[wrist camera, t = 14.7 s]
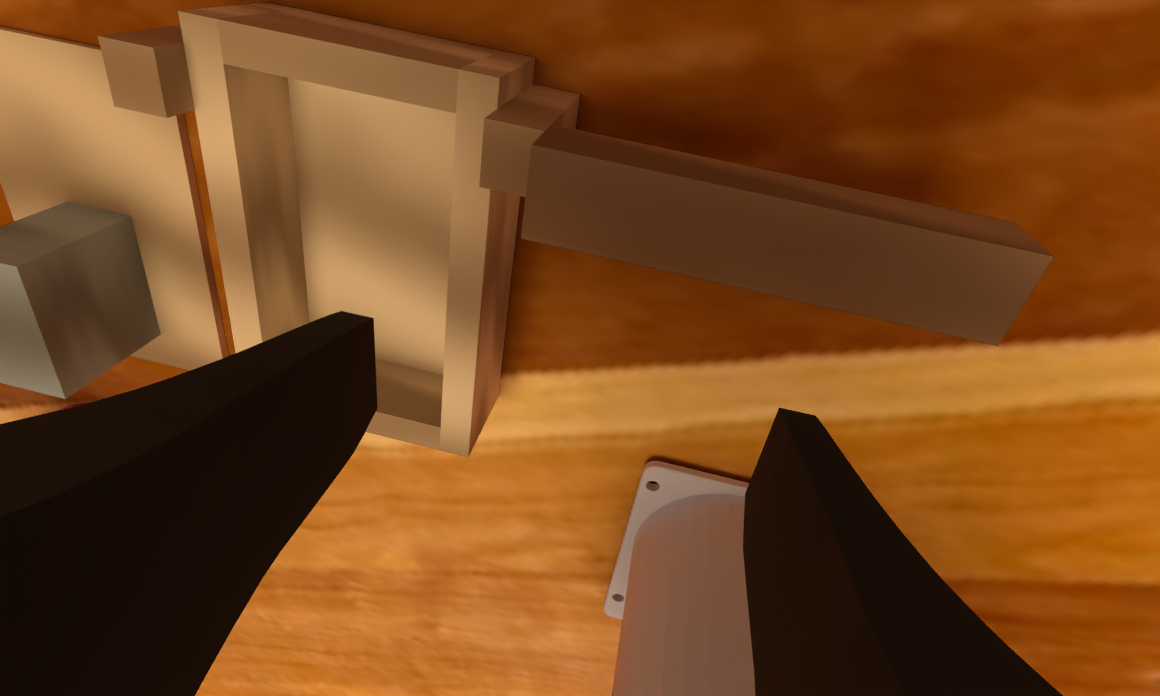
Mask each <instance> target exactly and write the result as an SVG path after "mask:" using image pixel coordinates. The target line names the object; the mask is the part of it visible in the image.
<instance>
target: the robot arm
mask: <svg viewBox="0 0 1160 696" xmlns="http://www.w3.org/2000/svg"><path fill="white" fill-rule="evenodd" d="M377 409H378V406H377V383H376V360H375V337H374V318H371V317H367V316H362V315H358V314H353V313H349V312H344V311H339V312H336V313H333V314H330V315H328V316H325V317H322V318H320V319H317V320H315V321H312V322H310V323H307V324H305V325H302V326H300V327H298V328H295V329H293V330H291V331H288V332H286V333H283V334H281V335H279V336H276V337H274V338H272V339H269V340H267V341H264V342H262V343H260V344H257V345H255V346H252V347H250V348H248V349H245V350H243V351H240V352H238V353H235V354H233V355H231V356H228V357H225V358H223V359H220V360H217V361H215V362H212V363H209V364H207V365H204V366H201V367H199V368H196V369H193V370H190V371H188V372H185V373H182V374H180V375H177V376H174V377H172V378H169V379H166V380H163V381H160V382H157V383H154V384H151V385H148V386H145V387H142V388H139V389H136V390H133V391H129V392H126V393H122V394H119V395H115V396H112V397H109V398H105V399H102V400H98V401H95V402H91V403H88V404H84V405H80V406H76V407H72V408H68V409H64V410H59V411H55V412H51V413H47V414H42V415H38V416H34V417H29V418H25V419H21V420H17V421H12V422H8V423H4V424H0V696H195V694H196V693H197V691H198V689H199V687H200V685H201V683H202V681H203V680H204V678H205V676H206V674H207V673H208V671H209V669H210V667H211V665H212V664H213V662H214V660H215V658H216V657H217V655H218V653H219V651H220V649H221V648H222V646H223V644H224V642H225V641H226V639H227V637H228V635H229V634H230V632H231V630H232V628H233V626H234V625H235V623H236V621H237V620H238V618H239V616H240V615H241V613H242V611H243V610H244V608H245V606H246V605H247V603H248V601H249V600H250V598H251V596H252V595H253V593H254V591H255V590H256V588H257V586H258V585H259V583H260V581H261V580H262V578H263V576H264V575H265V573H266V572H267V570H268V569H269V567H270V566H271V565H272V563H273V562H274V560H275V559H276V557H277V556H278V554H279V553H280V551H281V550H282V549H283V547H284V546H285V545H286V543H287V542H288V541H289V539H290V538H291V537H292V535H293V534H294V533H295V531H296V530H297V529H298V527H299V526H300V525H301V523H302V522H303V521H304V519H305V518H306V517H307V515H308V514H309V513H310V511H311V510H312V509H313V507H314V506H315V505H316V503H317V502H318V501H319V499H320V498H321V497H322V495H323V494H324V493H325V491H326V490H327V489H328V487H329V486H330V485H331V483H332V482H333V481H334V479H335V478H336V476H337V475H338V474H339V472H340V471H341V470H342V468H343V467H344V466H345V464H346V463H347V461H348V460H349V459H350V457H351V456H352V454H353V453H354V451H355V449H356V447H357V446H358V444H359V442H360V440H361V439H362V437H363V435H364V433H365V431H366V430H367V428H368V426H369V424H370V422H371V420H372V418H373V416H374V414H375V412H376V410H377ZM649 481H655V482H657V484H651V483H649ZM603 611H604V612H605V614H607V615H608V616H610V617H613V618H616V619H620V620H622V626H621V633H620V640H619V647H618V654H617V662H616V669H615V676H614V683H613V690H612V696H1063V695H1062V694H1060V693H1059V692H1058V691H1057V690H1056V689H1055V688H1054V687H1052V686H1051V685H1050V684H1049V683H1048V682H1047V681H1046V680H1045V679H1044V678H1043V677H1041V676H1040V675H1039V674H1038V673H1037V672H1036V671H1035V670H1034V669H1033V668H1032V667H1030V666H1029V665H1028V664H1027V663H1026V662H1025V661H1024V660H1023V659H1022V658H1021V657H1019V656H1018V655H1017V654H1016V653H1015V652H1014V651H1013V650H1012V649H1011V648H1010V647H1008V646H1007V645H1006V644H1005V643H1004V642H1003V641H1002V640H1001V639H1000V638H999V637H998V636H997V635H996V634H995V633H994V632H993V631H992V630H991V629H990V628H989V627H988V626H987V625H986V624H985V623H984V622H983V621H982V620H981V619H980V618H979V617H978V616H977V615H976V614H975V613H974V612H973V611H972V610H971V609H970V608H969V607H968V606H967V605H966V604H965V603H964V602H963V601H962V600H961V599H960V597H959V596H958V595H957V594H956V593H955V592H954V591H953V590H952V589H951V588H950V587H949V586H948V585H947V584H946V583H945V582H944V581H943V580H942V579H941V577H940V576H939V575H938V574H937V573H936V572H935V571H934V570H933V569H932V567H931V566H930V565H929V564H928V563H927V562H926V561H925V559H924V558H923V557H922V556H921V555H920V553H919V552H918V551H917V550H916V549H915V547H914V546H913V545H912V544H911V543H910V541H909V540H908V539H907V538H906V537H905V536H904V534H903V533H902V532H901V531H900V530H899V528H898V527H897V526H896V524H895V523H894V522H893V521H892V519H891V518H890V517H889V516H888V514H887V513H886V512H885V511H884V509H883V508H882V507H881V505H880V504H879V503H878V501H877V500H876V499H875V497H874V496H873V495H872V493H871V492H870V491H869V489H868V488H867V487H866V485H865V484H864V483H863V481H862V480H861V478H860V477H859V476H858V474H857V473H856V472H855V470H854V469H853V467H852V466H851V464H850V463H849V462H848V460H847V459H846V457H845V456H844V455H843V453H842V452H841V450H840V449H839V448H838V446H837V445H836V443H835V442H834V440H833V439H832V438H831V436H830V435H829V433H828V432H827V430H826V429H825V428H824V426H823V425H822V423H821V422H820V421H819V419H818V418H817V417H816V416H814V415H810V414H805V413H801V412H796V411H792V410H787V409H783V408H779V410H778V412H777V415H776V417H775V420H774V422H773V425H772V427H771V430H770V432H769V435H768V437H767V440H766V442H765V445H764V448H763V450H762V453H761V455H760V458H759V460H758V463H757V465H756V468H755V470H754V473H753V475H752V478H751V480H750V483H747V482H743V481H739V480H735V479H730V478H726V477H722V476H718V475H714V474H710V473H706V472H702V471H698V470H694V469H690V468H686V467H682V466H677V465H673V464H669V463H665V462H661V461H650V462H648V463H647V464H645V466H644V468H643V471H642V475H641V478H640V482H639V485H638V489H637V492H636V495H635V499H634V502H633V506H632V509H631V512H630V516H629V519H628V523H627V526H626V530H625V533H624V536H623V540H622V543H621V547H620V550H619V553H618V557H617V560H616V564H615V567H614V571H613V574H612V577H611V581H610V584H609V588H608V591H607V594H606V598H605V601H604V607H603Z"/></svg>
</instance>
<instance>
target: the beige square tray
mask: <svg viewBox="0 0 1160 696" xmlns="http://www.w3.org/2000/svg"><path fill="white" fill-rule="evenodd" d="M178 13H179V19H180V25H178V26H170V27H162V28H155V29H147V30H139V31H132V32H124V33H116V34H109V35H101V36H98V39H99V43H100V47H101V52H102V56H103V60H104V65H105V69H106V73H107V77H108V82H109V86H110V90H111V94H112V99H113V103H114V107H119V108H123V109H128V110H132V111H137V112H142V113H146V114H151V115H155V116H160V117H164V118H169V117H172V116H176V115H179V114H182V113H186V112H189V111H192V110H195V114H196V120H197V126H198V132H199V138H200V144H201V150H202V156H203V161H204V167H205V173H206V179H207V185H208V191H209V197H210V203H211V209H212V215H213V221H214V227H215V233H216V239H217V245H218V250H219V256H220V262H221V268H222V274H223V280H224V286H225V292H226V298H227V304H228V310H229V316H230V322H231V328H232V334H233V339H234V345H235V351H236V353H238V352H240V351H243V350H245V349H248V348H250V347H252V346H255V345H257V344H260V343H262V342H264V341H267V340H269V339H272V338H274V337H276V336H279V335H281V334H283V333H286V332H288V331H291V330H293V329H295V328H298V327H300V326H302V325H305V324H307V323H310V322H312V321H315V320H317V319H320V318H322V317H325V316H328V315H330V314H333V313H336V312H339V311H344V312H349V313H353V314H358V315H362V316H367V317H371V318H374V337H375V360H376V383H377V406H378V409H377V410H376V412H375V414H374V416H373V418H372V420H371V422H370V424H369V426H368V428H367V430H366V431H365V432H369V433H373V434H377V435H381V436H385V437H389V438H393V439H397V440H401V441H405V442H409V443H413V444H417V445H421V446H425V447H429V448H433V449H437V450H441V451H445V452H449V453H453V454H457V455H461V456H465V457H469V455H470V453H471V451H472V449H473V447H474V445H475V442H476V440H477V438H478V436H479V434H480V432H481V430H482V428H483V426H484V424H485V422H486V420H487V418H488V416H489V414H490V412H491V410H492V408H493V406H494V404H495V402H496V400H497V398H498V394H499V385H500V376H501V367H502V358H503V349H504V340H505V331H506V322H507V313H508V304H509V295H510V286H511V277H512V268H513V259H514V249H515V240H516V231H517V222H518V213H519V204H520V196H523V197H526V189H527V180H528V171H529V163H530V154H531V145H532V144H533V143H534V142H535V141H536V140H537V139H538V138H539V137H540V136H541V135H542V134H543V132H544V131H545V130H546V129H547V128H548V127H549V126H550V125H551V124H553V125H557V126H562V127H567V128H572V129H576V123H577V116H578V109H579V103H580V96H581V94H578V93H574V92H569V91H564V90H559V89H554V88H550V87H545V86H540V85H535V84H533V78H534V69H535V60H536V57H531V56H526V55H521V54H516V53H511V52H507V51H502V50H497V49H492V48H487V47H482V46H477V45H472V44H468V43H463V42H458V41H453V40H448V39H443V38H438V37H433V36H428V35H424V34H419V33H414V32H409V31H404V30H399V29H394V28H389V27H385V26H380V25H375V24H370V23H365V22H360V21H355V20H350V19H345V18H341V17H336V16H331V15H326V14H321V13H316V12H311V11H306V10H302V9H297V8H292V7H287V6H282V5H277V4H272V3H267V2H260V3H251V4H241V5H231V6H222V7H212V8H202V9H193V10H183V11H178Z"/></svg>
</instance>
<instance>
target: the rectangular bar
mask: <svg viewBox="0 0 1160 696" xmlns="http://www.w3.org/2000/svg"><path fill="white" fill-rule="evenodd" d="M521 239H524V240H529V241H533V242H538V243H542V244H547V245H551V246H556V247H560V248H564V249H569V250H573V251H578V252H582V253H587V254H591V255H596V256H600V257H604V258H609V259H613V260H618V261H622V262H627V263H631V264H636V265H640V266H644V267H649V268H653V269H658V270H662V271H667V272H671V273H676V274H680V275H684V276H689V277H693V278H698V279H702V280H707V281H711V282H716V283H720V284H724V285H729V286H733V287H738V288H742V289H747V290H751V291H756V292H760V293H764V294H769V295H773V296H778V297H782V298H787V299H791V300H796V301H800V302H804V303H809V304H813V305H818V306H822V307H827V308H831V309H836V310H840V311H845V312H849V313H853V314H858V315H862V316H867V317H871V318H876V319H880V320H885V321H889V322H893V323H898V324H902V325H907V326H911V327H916V328H920V329H925V330H929V331H933V332H938V333H942V334H947V335H951V336H956V337H960V338H965V339H969V340H973V341H978V342H982V343H987V344H991V345H996V346H998V345H999V344H1000V342H1001V341H1002V339H1003V337H1004V336H1005V334H1006V333H1007V331H1008V329H1009V328H1010V326H1011V325H1012V323H1013V321H1014V320H1015V318H1016V317H1017V315H1018V313H1019V312H1020V310H1021V309H1022V307H1023V305H1024V304H1025V302H1026V301H1027V299H1028V297H1029V296H1030V294H1031V293H1032V291H1033V289H1034V288H1035V286H1036V284H1037V283H1038V281H1039V280H1040V278H1041V276H1042V275H1043V273H1044V272H1045V270H1046V268H1047V267H1048V265H1049V264H1050V262H1051V260H1052V259H1053V257H1054V256H1052V255H1051V254H1050V253H1049V252H1048V251H1047V250H1046V249H1045V248H1043V247H1042V246H1041V245H1040V244H1039V243H1038V242H1037V241H1036V240H1034V239H1033V238H1032V237H1031V236H1030V235H1029V234H1028V233H1027V232H1026V231H1024V230H1023V229H1022V228H1021V227H1020V226H1019V225H1018V224H1017V223H1015V222H1011V221H1006V220H1001V219H997V218H992V217H987V216H982V215H978V214H973V213H968V212H964V211H959V210H954V209H949V208H945V207H940V206H935V205H931V204H926V203H921V202H916V201H912V200H907V199H902V198H897V197H893V196H888V195H883V194H879V193H874V192H869V191H864V190H860V189H855V188H850V187H846V186H841V185H836V184H831V183H827V182H822V181H817V180H812V179H808V178H803V177H798V176H794V175H789V174H784V173H779V172H775V171H770V170H765V169H761V168H756V167H751V166H746V165H742V164H737V163H732V162H727V161H723V160H718V159H713V158H709V157H704V156H699V155H694V154H690V153H685V152H680V151H676V150H671V149H666V148H661V147H657V146H652V145H647V144H642V143H638V142H633V141H628V140H624V139H619V138H614V137H609V136H605V135H600V134H595V133H591V132H586V131H581V130H576V129H572V128H567V127H562V126H557V125H553V124H551V125H550V126H549V127H548V128H547V129H546V130H545V131H544V132H543V134H542V135H541V136H540V137H539V138H538V139H537V140H536V141H535V142H534V143H533V144H532V145H531V154H530V163H529V171H528V180H527V189H526V197H525V206H524V215H523V223H522V232H521Z"/></svg>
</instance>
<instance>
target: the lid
mask: <svg viewBox="0 0 1160 696" xmlns="http://www.w3.org/2000/svg"><path fill="white" fill-rule="evenodd" d="M0 182H1V185H2V188H3V191H4V193H5V196H6V199H7V202H8V205H9V208H10V210H11V213H12V216H13V219H14V222H11V223H9V224H6V225H3V226H1V227H0V383H3V384H7V385H11V386H15V387H19V388H23V389H27V390H31V391H35V392H39V393H43V394H47V395H51V396H55V397H59V398H63V399H66V398H68V397H69V396H71V395H72V394H74V393H75V392H77V391H78V390H80V389H81V388H83V387H84V386H86V385H87V384H89V383H90V382H91V381H93V380H94V379H96V378H97V377H99V376H100V375H102V374H103V373H105V372H106V371H108V370H109V369H111V368H112V367H114V366H115V365H117V364H118V363H119V362H121V361H122V360H124V359H125V358H127V357H128V356H133V357H137V358H141V359H145V360H149V361H153V362H158V363H162V364H166V365H170V366H174V367H178V368H182V369H186V370H193V369H196V368H199V367H201V366H204V365H207V364H209V363H212V362H215V361H217V360H220V359H223V358H225V357H228V350H227V345H226V340H225V334H224V329H223V323H222V318H221V313H220V307H219V302H218V296H217V291H216V286H215V280H214V275H213V269H212V264H211V259H210V253H209V248H208V242H207V237H206V232H205V226H204V221H203V216H202V210H201V205H200V199H199V194H198V189H197V183H196V178H195V172H194V167H193V162H192V156H191V151H190V145H189V140H188V135H187V129H186V124H185V118H184V113H182V114H179V115H176V116H172V117H169V118H164V117H160V116H155V115H151V114H146V113H142V112H137V111H132V110H128V109H123V108H119V107H114V103H113V99H112V94H111V90H110V86H109V82H108V77H107V73H106V69H105V65H104V60H103V56H102V52H101V47H98V46H93V45H88V44H83V43H78V42H73V41H68V40H63V39H59V38H54V37H49V36H44V35H39V34H34V33H29V32H24V31H20V30H15V29H10V28H5V27H0Z"/></svg>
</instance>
